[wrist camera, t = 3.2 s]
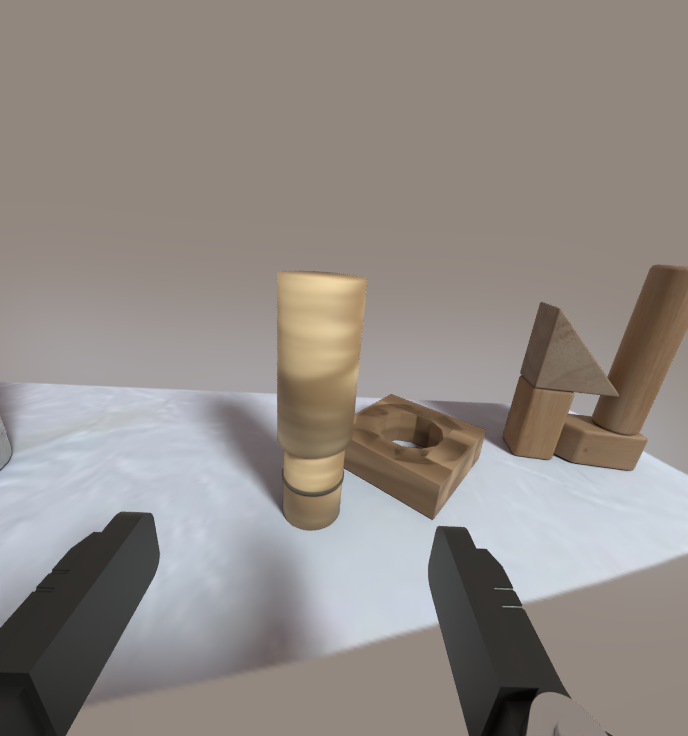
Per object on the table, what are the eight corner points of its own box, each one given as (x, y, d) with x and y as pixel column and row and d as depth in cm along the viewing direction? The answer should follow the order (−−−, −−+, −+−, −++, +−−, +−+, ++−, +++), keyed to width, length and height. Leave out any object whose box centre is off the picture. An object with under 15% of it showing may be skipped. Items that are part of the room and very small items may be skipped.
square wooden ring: (432, 519, 23) (440, 485, 22) (327, 458, 29) (329, 428, 28) (478, 457, 30) (486, 429, 29) (387, 418, 36) (391, 394, 35)
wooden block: (500, 436, 34) (552, 256, 28) (609, 450, 33) (688, 266, 27) (512, 457, 31) (574, 257, 24) (634, 473, 30) (732, 269, 23)
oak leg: (312, 549, 20) (325, 283, 14) (263, 508, 23) (258, 271, 17) (358, 506, 24) (384, 279, 18) (311, 475, 26) (320, 270, 21)
